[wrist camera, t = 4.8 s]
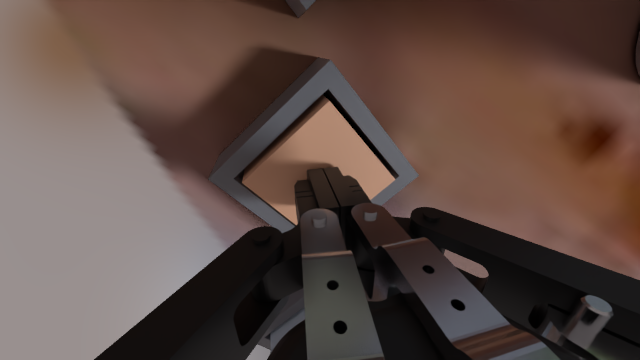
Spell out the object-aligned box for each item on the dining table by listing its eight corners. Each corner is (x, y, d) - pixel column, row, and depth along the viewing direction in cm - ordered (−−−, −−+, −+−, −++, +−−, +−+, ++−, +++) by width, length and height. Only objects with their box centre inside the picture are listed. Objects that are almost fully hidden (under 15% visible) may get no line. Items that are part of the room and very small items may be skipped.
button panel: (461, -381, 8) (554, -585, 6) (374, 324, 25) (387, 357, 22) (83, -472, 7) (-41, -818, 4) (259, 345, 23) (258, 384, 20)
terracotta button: (317, 90, 13) (329, 100, 11) (374, 157, 16) (395, 179, 13) (246, 158, 14) (241, 182, 12) (310, 212, 17) (318, 242, 14)
